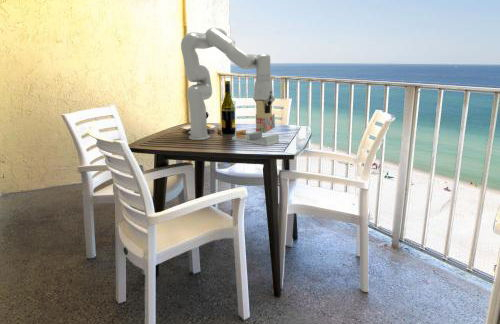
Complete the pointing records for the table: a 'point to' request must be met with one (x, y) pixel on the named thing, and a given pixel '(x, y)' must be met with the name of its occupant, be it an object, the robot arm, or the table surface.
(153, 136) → the table surface
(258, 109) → the brass block
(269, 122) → the stack of blocks
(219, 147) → the table surface
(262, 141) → the vise
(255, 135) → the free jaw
